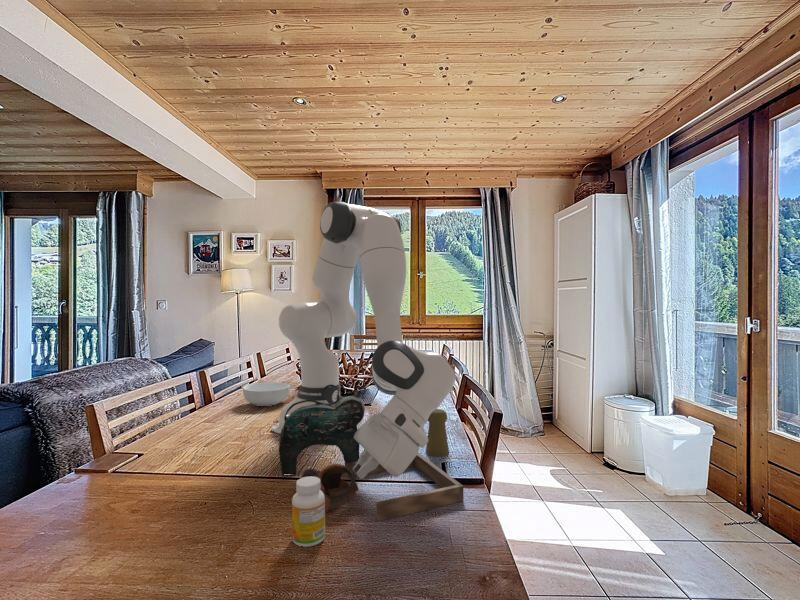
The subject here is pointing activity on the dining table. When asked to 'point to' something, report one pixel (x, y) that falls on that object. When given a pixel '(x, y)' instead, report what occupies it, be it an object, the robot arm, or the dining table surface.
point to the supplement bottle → (308, 512)
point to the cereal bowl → (266, 393)
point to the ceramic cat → (321, 429)
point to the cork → (437, 434)
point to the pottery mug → (334, 484)
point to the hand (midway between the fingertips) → (356, 474)
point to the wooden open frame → (420, 501)
